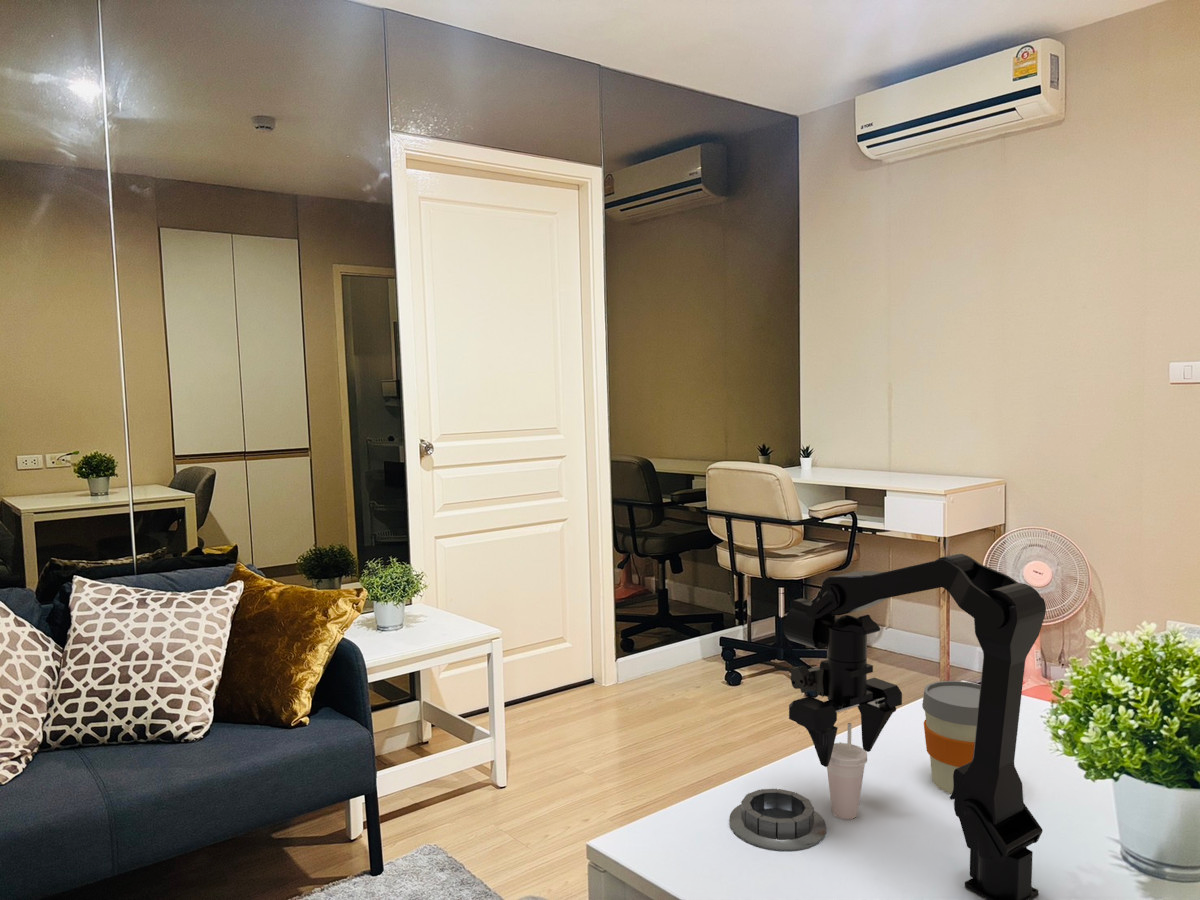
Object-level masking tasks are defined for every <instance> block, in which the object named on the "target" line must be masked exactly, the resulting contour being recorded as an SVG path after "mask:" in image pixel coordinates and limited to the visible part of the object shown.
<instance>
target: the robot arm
mask: <svg viewBox="0 0 1200 900" xmlns="http://www.w3.org/2000/svg"><path fill="white" fill-rule="evenodd" d="M940 588H943V589H944V590H945V591H947V592H948V593H949V595H950V596H951V598H952V599H953V600H954V601H955V602H954V603H956V604H957V606H958V608H959V609H961V610H962V611H963V612H965V613H966V614H968V615H969V616H970V617H972V618H973V622H974V623H973V625H974V634H975V636H976V639H977V642H978V643H979V646H980V648H981V650H982V654H983V655H982V657H983V659H982V666H981V667H982V668H981V676H980V677H981V679H980V685H981V686H980V696H979V706H978V716H977V725H976V735H975V745H974V755H973V759H972V762H970V763H968V764H966V765H963V766H961V767H959V768H957V769H955V770H954V774H953V783H954V788H953V792H952V794H951V793H950V795H949V799H950V800H954V802H953V808H954V813H955V816H956V817H957V818H958V820H959V822H960V826H961V829H962V830H961V831H962V833H963V836H964V837H963V838H964V840H965V843H966V847H967V848H968V849H969V876H970V879H968V880H966V881H964V887H965V888H966V889H967V890H970V891H971V892H973V893H975V894H977V895H979V896H981V897H982V898H984V899H987V900H1032V899H1035V898H1036V897H1038V896H1039V890H1038V889H1036V888H1035V887H1033V886H1032V885H1033V884H1032V883H1033V882H1032V879H1033V850H1030V849H1028V847H1029V846H1032V845H1033V844H1036V843H1038V841H1039V840H1040V838H1041V835H1042V833H1043V828H1042V826H1041V825H1040V823H1038V821H1037V819H1036V818H1035V817H1034V814H1032V812H1031V811H1030V809H1029V808H1028V807H1027V806H1026V804H1025V803H1024V792H1023V790H1024V789H1023V781H1022V780H1021V777H1020V775H1019V773H1018V771H1017V769H1016V767H1015V766H1016V765H1015V757H1016V749H1017V747H1016V746H1017V739H1018V731H1019V730H1018V729H1019V719H1020V712H1021V703H1022V702H1021V701H1022V695H1023V693H1022V692H1023V685H1024V684H1023V683H1024V675H1025V667H1026V659H1027V656H1028V654H1029V653H1030V652H1031V650H1032V647H1033V646H1034V644H1035V643H1036V641H1037V640H1038V637H1039V636H1040V634H1041V630H1042V626H1043V623H1044V619H1045V617H1046V612H1047V609H1046V608H1047V605H1046V601H1045V599H1044V598H1043V596H1041V594H1040V593H1039V592H1038V591H1037V590H1036V589H1035V588H1034V587H1033V586H1031V585H1028V584H1026V583H1023V582H1018V581H1016V580H1015V579H1014V578H1012V577H1011V576H1010V575H1007V574H1005V573H1002V572H1000V571H998V570H995V569H993V568H991V567H988V566H987V565H984V564H981V563H980V562H978V561H977V560H975V559H974V558H973V557H971V556H969V555H968V554H967V555H966V554H964V553H956V554H951V555H947V556H942V557H939V558H937V559H935V560H932V561H929V562H924V563H920V564H915V565H911V566H906V567H902V568H897V569H893V570H889V571H875V570H864V571H863V570H860V571H859V570H858V571H857V570H856V571H851V572H846V573H841V574H837V575H831V576H828V577H826V578H825V579H823V580H822V584H821V587H820V591H819V592H818V595H817V596H816V598H815V599H814V600H813V601H810V600H808V599H806V598H798V599H794V600H792V607H791V608H790V609H789V610H788V611H787V613H786V616H785V618H784V620H783V622H782V629H783V634H784V637H786V639H788V640H789V641H792V642H794V643H798V644H802V645H805V646H807V647H810V648H814V649H817V650H823V649H827V650H826V651H827V652H826V655H827V656H826V659H824V660H821V661H820V663H819V666H817V667H812V668H808V667H807V666H806V665H802V666H801V665H800V666H795V667H793V668H792V667H791V669H790V670H791V671H790V682H791V687H792V688H793V689H795V690H797V689H798V690H800V693H801V694H803V693H804V694H805V693H807V692H815V691H816V694H817V695H818V696H819V697H820V696H821V697H823V698H824V697H826V698H827V700H825V701H823V700H820V699H818V698H815V697H813V696H810V695H809V696H806V697H802V698H798V699H795V700H793V701H792V702H790V704H788V719H789V720H791V721H793V722H795V723H796V724H798V725H799V726H802V727H804V728H805V730H806V731H807V732H808V734H809V736H810V738H811V741H812V743H813V746H814V749H815V751H816V754H817V757H818V760H819V763H820V765H821V766H823V767H824V768H827V766H828V765H829V762H830V759H831V755H832V750H833V746H834V744H835V741H836V736H837V733H838V730H839V729H838V726H835V724H836V723H837V721H838V718H837V717H838V713H840V712H843V711H847V710H850V709H853V708H857V709H858V711H859V713H860V724H861V744H862V748H863V749H864V750H865V751H866V752H867V753H869V752H871V751H872V750H873V747H874V745H875V744H876V742H877V740H878V738H879V736H880V734H881V732H882V731H883V729H884V728H885V726H886V724H887V722H888V721H889V720H890V718H891V716H892V715H893V714H894V713H895V712H896V711H897V707H899V706H902V705H903V692H902V690H901V689H900V687H899V686H898V685H897V684H894V683H891V682H889V681H885V680H883V679H880V678H877V677H872V678H868V677H867V676H868V675H867V674H872V673H874V665H872V664H870V663H868V659H867V658H868V635H870V634H874V633H878V632H880V631H881V627H880V625H878V623H876V621H874V620H873V619H872V618H871V617H872V616H870V615H869V614H865V615H861V616H857V617H856V616H853V615H848V614H851V613H855V612H859V611H863V610H867V609H869V608H872V607H874V606H876V605H879V604H880V603H882V602H884V601H886V600H887V599H890V598H895V597H899V596H904V595H909V594H913V593H919V592H923V591H924V592H925V591H929V590H935V589H940ZM837 616H840V617H837ZM867 678H868V679H867Z"/></svg>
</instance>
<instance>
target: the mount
mask: <svg viewBox="0 0 1200 900" xmlns="http://www.w3.org/2000/svg"><path fill="white" fill-rule="evenodd" d="M729 827H730V829H731V831H732V832H733V834H734V835H735V836H736V837H738V838H739V839H741V840H742V841H744V842H745V843H747V844H750V845H752V846H755V847H758V848H761V849H765V850H768V851H769V850H771V851H776V852H777V851H778V852H794V851H801V850H806V849H809V848H812V846H813V847H814V846H817V845H818V844H820V843H821V842H822V841H823V840H824V839H825V837H826V834H827V822H826V821H825V819H824V818H823V816H822V815H821V814H820V813H819V812H818V811H816V810H815V807H814V805H813V804H812V802H811V800H810V799H809V798H807V797H805V796H803V795H802V794H800V793H798V792H795V791H791V790H786V789H783V788H782V789H781V788H761V789H757V790H755V791H752V792H748V793H747V794H745V796H744V798H742V801H741V804H739V805H737V806H736V807H734V809H733V810H732V811H731V812H730V815H729ZM820 841H821V842H820ZM819 842H820V843H819ZM816 844H817V845H816Z"/></svg>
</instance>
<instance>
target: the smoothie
mask: <svg viewBox="0 0 1200 900" xmlns="http://www.w3.org/2000/svg"><path fill="white" fill-rule="evenodd" d="M852 728H853V727H852V723H851V722H848V723H847V743H846V742H836V743H835V742H834V746H833V750H832V755H831V759H830V762H829V765H828V766H827V767H826V772H827V779H828V781H827V782H828V788H829V789H828V790H829V796H830V806H831V813H832V815H833V816H834V817H836V818H838V819H841V818H842V819H841V820H853V818H854V819H856V818H857V817H858V812H859V807H860V799H861V793H862V785H863V779H864V773H865V767H866V766H865V765H866V763H867V762H868V752H867V751H865V750H864V749H863V747H860V746H858V745H855V744H853V743H852ZM855 817H856V818H855Z"/></svg>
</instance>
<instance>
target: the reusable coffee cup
mask: <svg viewBox="0 0 1200 900" xmlns="http://www.w3.org/2000/svg"><path fill="white" fill-rule="evenodd" d="M980 686H981V683H980V684H979V683H977V682H975V683H974V682H971V681H970V682H969V681H960V680H940V681H936V682H931V683H929V684H927V685H925V687H924V690H923V698H922V709H923V711H924V713H925V714H924V715H925V719H924V721H923V729H924V738H925V746H926V752H927V753H928V755H929V759H930V768H931V777H932V783H933V782H934V783H933V784H934V785H935V787H937V788H938V789H940V790H942V791H943V792H946V793H948V794H950V795H951V794H952V792H953V788H954V783H953V774H954V770H955V769H957V768H959V767H961V766H963V765H966V764H968V763H970V762H972V759H973V755H974V745H975V735H976V725H977V716H978V706H979V696H980Z"/></svg>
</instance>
